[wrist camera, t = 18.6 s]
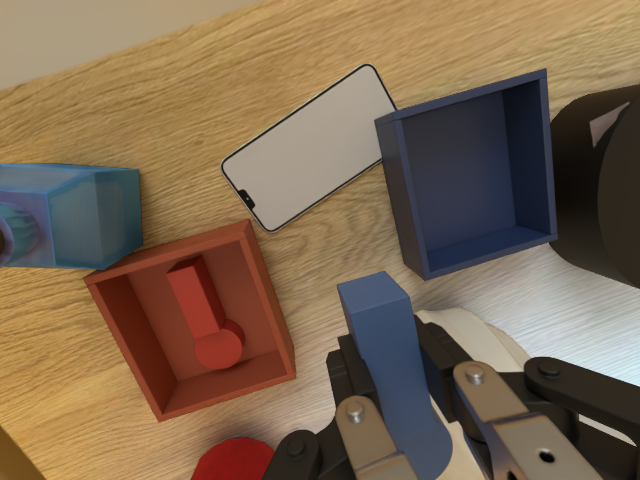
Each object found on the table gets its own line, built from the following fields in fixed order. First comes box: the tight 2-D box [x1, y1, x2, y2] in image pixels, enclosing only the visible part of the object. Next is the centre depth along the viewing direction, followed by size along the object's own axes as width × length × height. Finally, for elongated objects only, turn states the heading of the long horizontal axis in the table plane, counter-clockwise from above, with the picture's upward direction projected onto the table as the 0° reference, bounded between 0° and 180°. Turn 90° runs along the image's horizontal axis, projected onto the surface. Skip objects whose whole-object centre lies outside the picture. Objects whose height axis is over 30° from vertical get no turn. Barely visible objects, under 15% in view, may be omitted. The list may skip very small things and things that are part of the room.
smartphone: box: [220, 63, 398, 233], centre depth 26 cm, size 7×1×15 cm
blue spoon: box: [337, 271, 453, 480], centre depth 13 cm, size 10×4×3 cm, turn 15°
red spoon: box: [166, 255, 245, 369], centre depth 27 cm, size 10×4×3 cm, turn 16°
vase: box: [413, 307, 531, 480], centre depth 26 cm, size 14×14×13 cm
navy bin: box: [374, 68, 558, 281], centre depth 26 cm, size 13×12×4 cm
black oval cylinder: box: [549, 84, 640, 289], centre depth 27 cm, size 14×18×8 cm
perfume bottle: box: [0, 163, 143, 270], centre depth 19 cm, size 6×6×12 cm
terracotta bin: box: [83, 219, 296, 422], centre depth 26 cm, size 13×12×4 cm
